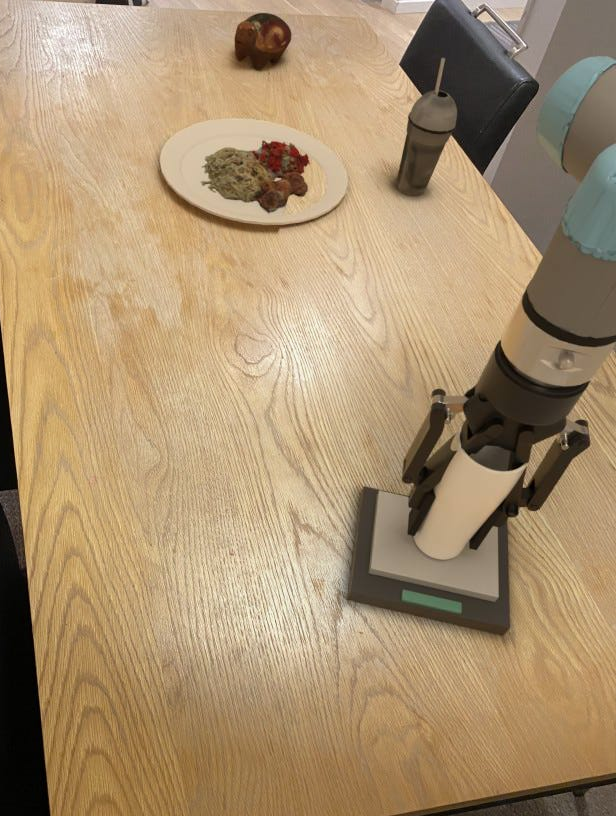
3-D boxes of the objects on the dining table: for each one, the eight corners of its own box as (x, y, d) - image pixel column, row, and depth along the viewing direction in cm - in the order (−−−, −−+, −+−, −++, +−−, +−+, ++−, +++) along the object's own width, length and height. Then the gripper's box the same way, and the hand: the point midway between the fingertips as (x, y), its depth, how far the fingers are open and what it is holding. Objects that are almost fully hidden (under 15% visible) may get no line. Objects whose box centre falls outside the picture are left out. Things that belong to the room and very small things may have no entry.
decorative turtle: (215, 64, 143) (220, 15, 137) (260, 47, 151) (266, -1, 145) (257, 80, 140) (264, 30, 133) (301, 62, 148) (309, 14, 142)
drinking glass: (421, 574, 76) (478, 479, 64) (394, 520, 80) (443, 421, 68) (480, 561, 78) (546, 467, 66) (450, 509, 81) (508, 411, 69)
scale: (498, 531, 85) (511, 512, 82) (500, 639, 77) (514, 623, 74) (358, 499, 86) (366, 480, 83) (345, 604, 78) (353, 586, 75)
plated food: (130, 200, 115) (130, 179, 112) (196, 112, 132) (197, 92, 129) (320, 255, 111) (325, 234, 109) (362, 158, 128) (368, 138, 126)
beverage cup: (430, 209, 121) (478, 76, 105) (385, 201, 121) (426, 66, 105) (430, 185, 125) (476, 53, 109) (386, 177, 126) (426, 44, 109)
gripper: (424, 364, 57) (348, 540, 76) (673, 418, 56) (534, 582, 75) (428, 302, 61) (356, 484, 80) (659, 352, 60) (531, 523, 79)
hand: (442, 531), depth 77 cm, fingers closed on drinking glass, 6 cm apart
